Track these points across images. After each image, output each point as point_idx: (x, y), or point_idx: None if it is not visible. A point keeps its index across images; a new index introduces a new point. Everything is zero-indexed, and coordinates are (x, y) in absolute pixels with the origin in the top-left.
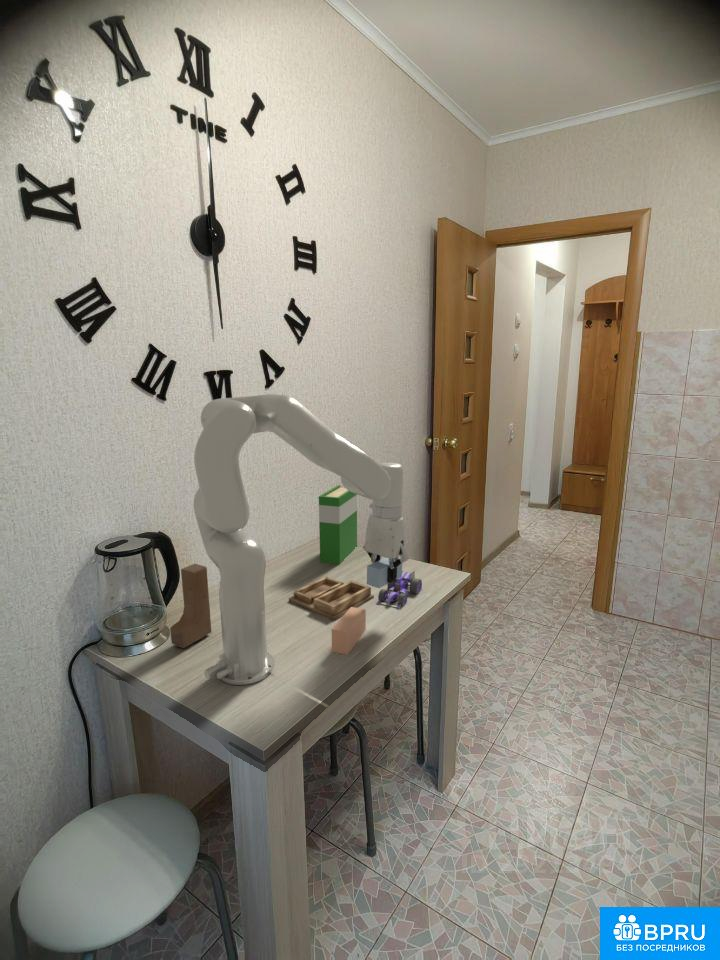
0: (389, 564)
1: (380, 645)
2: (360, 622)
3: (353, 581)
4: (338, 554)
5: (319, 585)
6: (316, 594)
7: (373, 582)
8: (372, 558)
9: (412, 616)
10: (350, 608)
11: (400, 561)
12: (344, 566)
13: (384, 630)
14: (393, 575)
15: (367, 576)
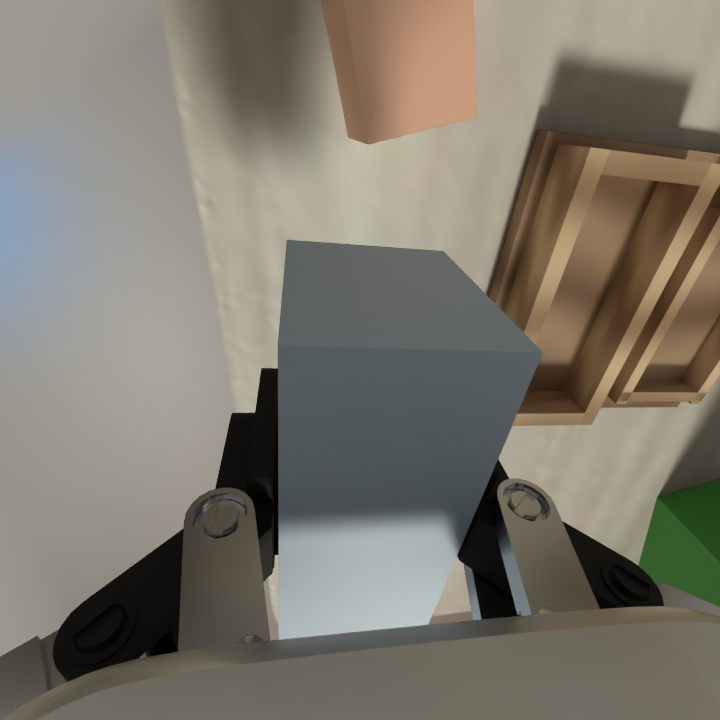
0: (254, 535)
1: (178, 24)
2: (340, 27)
3: (579, 423)
4: (697, 532)
5: (705, 346)
6: (712, 247)
7: (366, 258)
8: (546, 529)
9: (246, 375)
10: (470, 89)
11: (55, 660)
12: (641, 501)
13: (268, 197)
14: (227, 442)
15: (464, 280)
